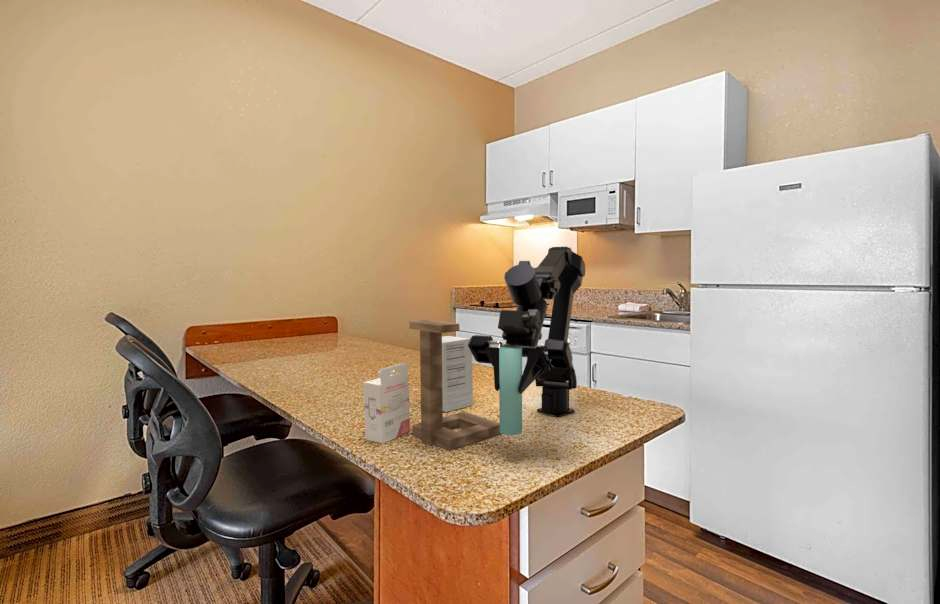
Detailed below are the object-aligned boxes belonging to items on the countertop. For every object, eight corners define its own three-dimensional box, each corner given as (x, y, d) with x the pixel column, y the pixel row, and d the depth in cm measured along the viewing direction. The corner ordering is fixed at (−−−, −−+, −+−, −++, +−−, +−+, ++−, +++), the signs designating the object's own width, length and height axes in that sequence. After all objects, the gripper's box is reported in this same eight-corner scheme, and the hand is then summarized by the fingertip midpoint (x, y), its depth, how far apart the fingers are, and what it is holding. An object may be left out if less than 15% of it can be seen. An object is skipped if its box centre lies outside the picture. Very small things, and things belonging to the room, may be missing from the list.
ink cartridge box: (392, 427, 102) (391, 359, 101) (410, 431, 99) (409, 362, 98) (363, 440, 95) (362, 366, 94) (382, 444, 92) (381, 369, 91)
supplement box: (474, 405, 119) (473, 338, 118) (445, 413, 112) (445, 342, 111) (449, 398, 126) (448, 334, 125) (421, 405, 119) (420, 338, 118)
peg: (510, 426, 87) (510, 345, 87) (526, 431, 84) (526, 347, 84) (494, 431, 85) (494, 347, 84) (511, 437, 82) (511, 350, 81)
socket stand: (464, 420, 107) (463, 316, 105) (502, 433, 98) (502, 320, 96) (408, 435, 97) (406, 321, 95) (445, 452, 88) (444, 325, 86)
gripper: (471, 292, 91) (444, 360, 81) (569, 294, 83) (551, 369, 73) (488, 329, 98) (465, 394, 89) (578, 333, 90) (564, 406, 81)
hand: (507, 391), depth 83 cm, fingers closed on peg, 4 cm apart
